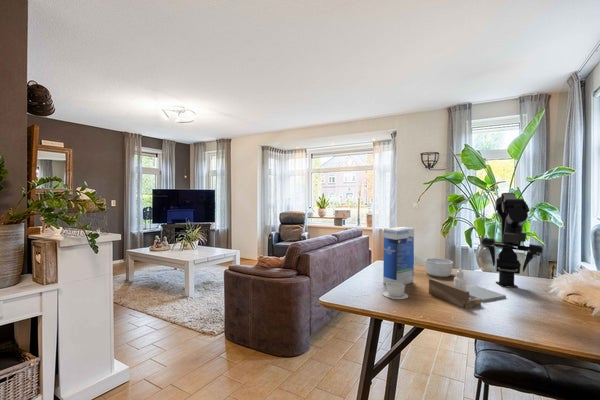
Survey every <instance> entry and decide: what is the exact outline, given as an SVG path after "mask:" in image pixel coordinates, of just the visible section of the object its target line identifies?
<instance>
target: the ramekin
mask: <svg viewBox="0 0 600 400" xmlns="http://www.w3.org/2000/svg"><path fill="white" fill-rule="evenodd" d="M424 263H425V271H426V273H427V274H428V275H430V276H433V277H440V278H445V277H447V278H448V277H450V276H451V275H452V272H453V266H454V262H453V261H452V260H449V259H446V258H437V257H430V258H426V259H424Z"/></svg>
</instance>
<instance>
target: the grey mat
mask: <svg viewBox="0 0 600 400" xmlns="http://www.w3.org/2000/svg"><path fill="white" fill-rule="evenodd" d="M466 291H469V299H474V298H479V299H481V303H486V302H492V301H496V300H501V299H507V295H505V294H502V293H501V292H500V293H499V292H497V291H493V290H490V289H487V288H484V287H481V286H478V285H474V286H466Z"/></svg>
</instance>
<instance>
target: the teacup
mask: <svg viewBox="0 0 600 400" xmlns="http://www.w3.org/2000/svg"><path fill="white" fill-rule="evenodd" d="M385 285H386V290H385V291H383V292H382V294H383V296H384V297H386V298H389V299H393V300H405V299H408V298H409V294H407V293H405V290H406V285H404V284H402V283H398V282H388V283H387V284H385Z"/></svg>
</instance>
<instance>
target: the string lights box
mask: <svg viewBox="0 0 600 400" xmlns="http://www.w3.org/2000/svg"><path fill="white" fill-rule="evenodd" d="M414 242H415V228H414V227H407V226H397V227H387V228H383V266H382V267H383V276H382V277H383V282H382V284H384V285H386V284H387V283H388V282H398V283H402V284H404V285H405V286H407V285H409V284H412V283H414V282H415V281H414V279H415V277H414V273H415V272H414V261H415V259H414V258H415V257H414V255H415V253H414V252H415V248H414V247H415V245H414V244H415V243H414Z"/></svg>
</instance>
